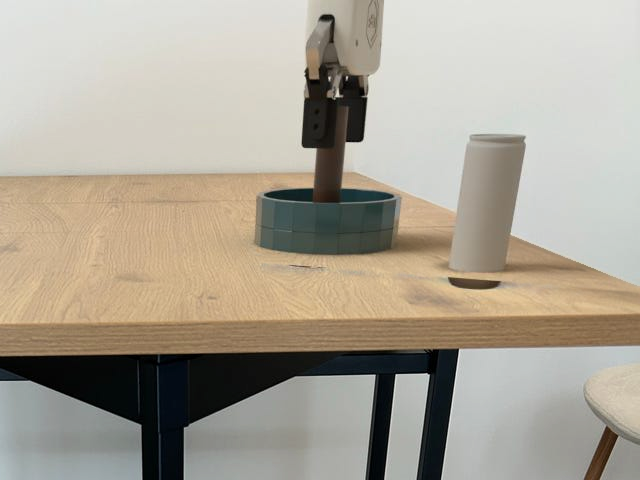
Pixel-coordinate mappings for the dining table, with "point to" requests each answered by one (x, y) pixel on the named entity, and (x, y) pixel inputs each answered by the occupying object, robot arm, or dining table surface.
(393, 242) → the bowl
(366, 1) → the robot arm
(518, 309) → the dining table surface
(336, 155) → the stick
